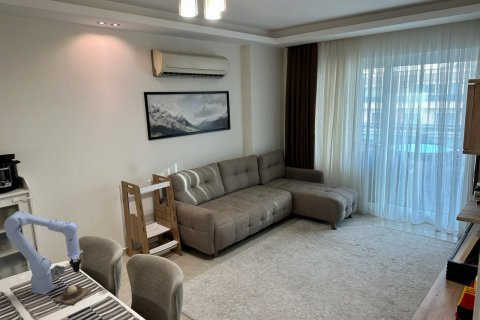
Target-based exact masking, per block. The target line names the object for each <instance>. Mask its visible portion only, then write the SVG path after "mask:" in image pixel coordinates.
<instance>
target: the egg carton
mask: <svg viewBox="0 0 480 320" xmlns="http://www.w3.org/2000/svg"><path fill="white" fill-rule="evenodd" d="M66 268H67V266H64V265H58V264H55V266H53V267H51V268H50V270H51V276H52V281H54V280H55V281H56V279H57V277H60V276H61V275H62V274H64V273H66Z"/></svg>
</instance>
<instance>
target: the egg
mask: <svg viewBox="0 0 480 320" xmlns="http://www.w3.org/2000/svg"><path fill="white" fill-rule="evenodd" d="M68 287H69V288H68ZM68 287H67V288H68V290H67V293H68V294H71V293H75V292H76V291H77V287H76V286H74V285H71V286H68Z"/></svg>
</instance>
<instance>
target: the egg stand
mask: <svg viewBox="0 0 480 320" xmlns="http://www.w3.org/2000/svg"><path fill="white" fill-rule="evenodd" d="M73 286H76V287H77V291H76V292H75V293H71V294H68V293H67V290H68V288H69V287H70V286H68V287H66V288H65V289H63V290H62V293H61V294H59V295H58V296H57V297H55V298H54V299H53V302H54V303H58V304H59V303H60V304H64V305H69V306H75V305H76V304H77V303H78V302H80V301H81V300H82V299H84V298H85V297H87V295H88V294H90V293H91V292H92V289H91V288H85V287H82V286H81V285H77V284H75V285H73Z"/></svg>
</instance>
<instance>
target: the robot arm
mask: <svg viewBox="0 0 480 320" xmlns="http://www.w3.org/2000/svg"><path fill="white" fill-rule="evenodd" d="M29 224H30V225H35V226H40V227H45V228H47V229H48V230H49V231H54V232H57V233H59V234H61V233H62V234H63V236H65V243H66V251H67V257H68V258H69V259H70V260H69V261H68V263H69V264H70V266H71V267H72V270H73V273H75V274H76V273H80V267H81V263H82V258H79V257H80V254H83V252H84V251H83V250H81V248H80V241H79V236H78V231H77V230H78V229H79V226H78V224H77V222H75V221H73V220H72V221H67V220H66V221H65V220H59V218H53V219H47V218H43V217H40V216H38V215H37V216H36V215H33V214H31V213H30V212H27V211H21V210H18V211H15V212H14V213H13V214H12V215H10V216H9V217H7V218H6V219H5V221H4V222H3V227H4V228H5V230H4V231H5V235H6V237H7V239H9V241H10V242H11V243H12V244H13V246H14V247H15V248H16V249H17V250H18V251H19V253H20V254H21V255H22V256H23V257H24V258H25V259H26V261H28V263H29V270H30V271H31V277H30V285H31V291H30V292H31V293H34V294H39V295H44V296H45V295H47V294H48V293H50V292H51V291H52V290H54V289H55V288H57V287H58V285H57V284H53V280H52V276H51V275H52V274H51V270H50V269H51V268H52V267H51V266H52V261H51V260H50V259H49V258H47V257H46V256H44V255H42V254H39V252H38V251H37V250H36V249H35V248H34V246H33V245H32V244H31V242H30V241H29V240H28V238H26V237H25V235H24V234H23V233H22V232H21V230H22V228H23V227H24V226H26V225H29Z"/></svg>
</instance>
